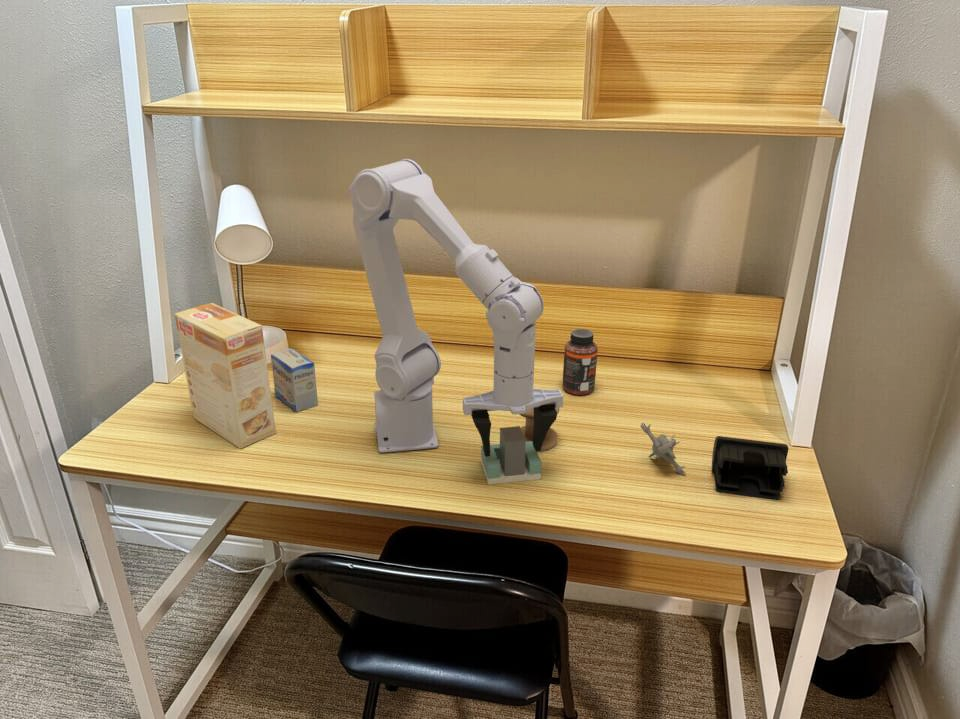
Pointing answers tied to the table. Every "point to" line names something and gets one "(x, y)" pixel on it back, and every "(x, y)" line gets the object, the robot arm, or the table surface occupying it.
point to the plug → (512, 451)
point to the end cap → (749, 467)
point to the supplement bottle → (580, 363)
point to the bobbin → (527, 430)
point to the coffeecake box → (226, 373)
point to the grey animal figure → (663, 448)
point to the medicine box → (294, 379)
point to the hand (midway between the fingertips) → (511, 450)
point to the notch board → (496, 473)
